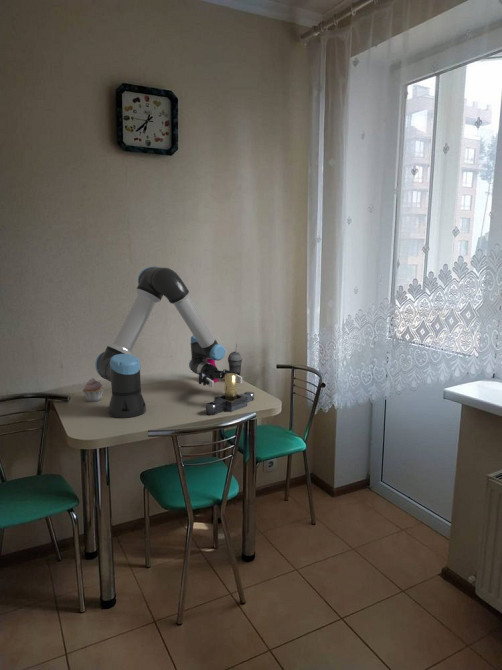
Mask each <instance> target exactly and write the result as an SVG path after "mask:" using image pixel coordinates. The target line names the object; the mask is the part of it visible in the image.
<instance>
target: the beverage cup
mask: <svg viewBox="0 0 502 670" xmlns="http://www.w3.org/2000/svg"><path fill="white" fill-rule="evenodd" d="M227 363H228V369H229V370H228V371H234V372H239V373H240V374H241V372H242V371H241V369H242V363H243V357H242V354H241V353H240V352H238V342H237V343H236V344H235V351H231V352H230V353H229V354H228V357H227ZM237 384H240V383H239V382H237Z"/></svg>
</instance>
